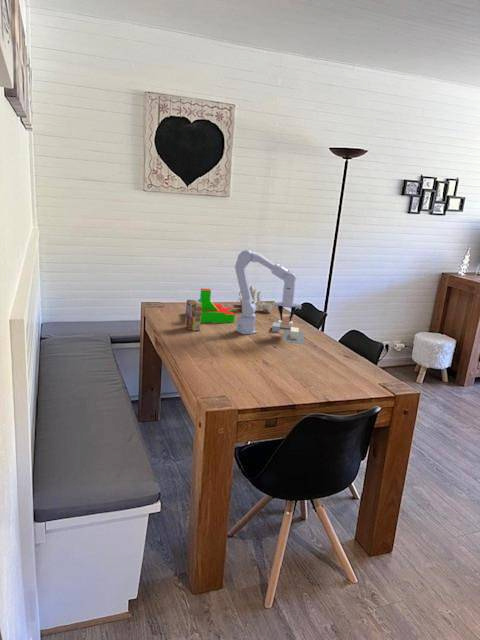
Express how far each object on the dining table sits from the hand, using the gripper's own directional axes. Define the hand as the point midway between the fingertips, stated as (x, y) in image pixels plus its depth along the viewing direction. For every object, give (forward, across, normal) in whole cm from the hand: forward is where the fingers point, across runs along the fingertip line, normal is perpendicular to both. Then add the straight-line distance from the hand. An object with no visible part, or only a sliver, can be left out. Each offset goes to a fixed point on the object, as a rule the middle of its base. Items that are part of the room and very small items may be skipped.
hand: (285, 320), depth 251 cm
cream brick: (+8, +5, +1) cm, 10 cm away
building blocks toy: (+9, -43, +21) cm, 49 cm away
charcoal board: (+9, +5, +1) cm, 11 cm away
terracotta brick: (+2, 0, 0) cm, 2 cm away
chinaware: (+9, -22, +52) cm, 57 cm away
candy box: (+9, -49, -4) cm, 50 cm away
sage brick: (+9, 0, +18) cm, 20 cm away
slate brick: (+9, -5, +10) cm, 14 cm away
